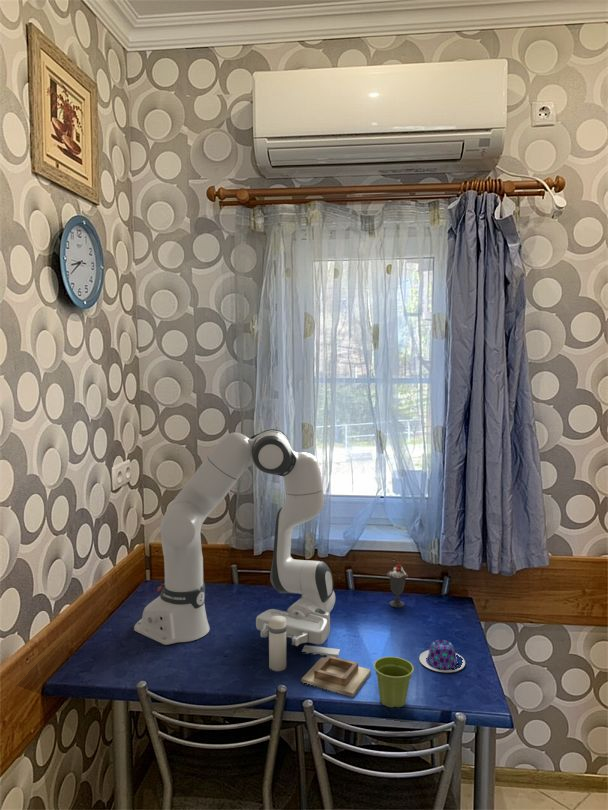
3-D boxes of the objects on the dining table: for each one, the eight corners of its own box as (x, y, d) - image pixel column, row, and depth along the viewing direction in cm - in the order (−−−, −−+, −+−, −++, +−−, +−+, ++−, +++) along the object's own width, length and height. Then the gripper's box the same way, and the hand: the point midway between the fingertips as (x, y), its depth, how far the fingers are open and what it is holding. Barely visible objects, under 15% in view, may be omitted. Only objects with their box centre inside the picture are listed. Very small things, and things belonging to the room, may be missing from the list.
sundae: (397, 610, 197) (398, 565, 195) (382, 603, 202) (383, 559, 200) (411, 605, 201) (412, 560, 199) (396, 598, 206) (397, 554, 204)
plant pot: (386, 685, 154) (387, 652, 154) (420, 699, 149) (420, 665, 148) (365, 702, 147) (365, 667, 146) (399, 717, 141) (400, 681, 140)
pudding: (422, 674, 160) (423, 655, 159) (416, 651, 172) (416, 633, 171) (469, 675, 160) (470, 656, 159) (459, 651, 172) (460, 633, 171)
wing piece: (302, 654, 170) (302, 650, 170) (304, 649, 173) (304, 645, 173) (337, 658, 168) (337, 654, 168) (339, 653, 171) (340, 649, 171)
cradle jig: (301, 682, 156) (301, 671, 155) (321, 660, 166) (321, 649, 166) (353, 697, 149) (353, 685, 149) (370, 673, 160) (370, 662, 160)
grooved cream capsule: (265, 668, 162) (265, 621, 161) (274, 660, 166) (274, 614, 165) (281, 672, 160) (281, 624, 159) (289, 664, 164) (289, 617, 163)
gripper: (269, 599, 179) (244, 619, 167) (334, 614, 170) (312, 635, 158) (269, 620, 180) (244, 641, 168) (334, 636, 171) (312, 659, 159)
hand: (278, 638), depth 163 cm, fingers open, 8 cm apart
